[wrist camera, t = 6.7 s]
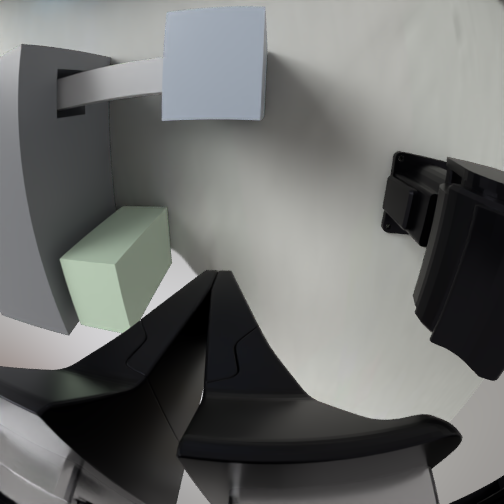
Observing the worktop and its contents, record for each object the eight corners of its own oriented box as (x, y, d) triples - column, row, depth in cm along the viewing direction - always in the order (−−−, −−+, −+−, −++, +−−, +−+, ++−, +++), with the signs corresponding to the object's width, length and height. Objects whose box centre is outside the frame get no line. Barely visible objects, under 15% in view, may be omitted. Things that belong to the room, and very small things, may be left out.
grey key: (267, 49, 16) (265, 6, 8) (264, 116, 18) (260, 120, 11) (69, 72, 17) (-10, 73, 9) (70, 128, 19) (-9, 150, 11)
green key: (167, 206, 22) (114, 264, 14) (171, 262, 24) (132, 334, 16) (40, 206, 22) (-23, 248, 14) (50, 252, 25) (-3, 302, 17)
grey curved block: (110, 57, 16) (21, 44, 8) (124, 262, 25) (68, 335, 16) (40, 78, 17) (-45, 86, 8) (60, 256, 25) (1, 314, 16)
